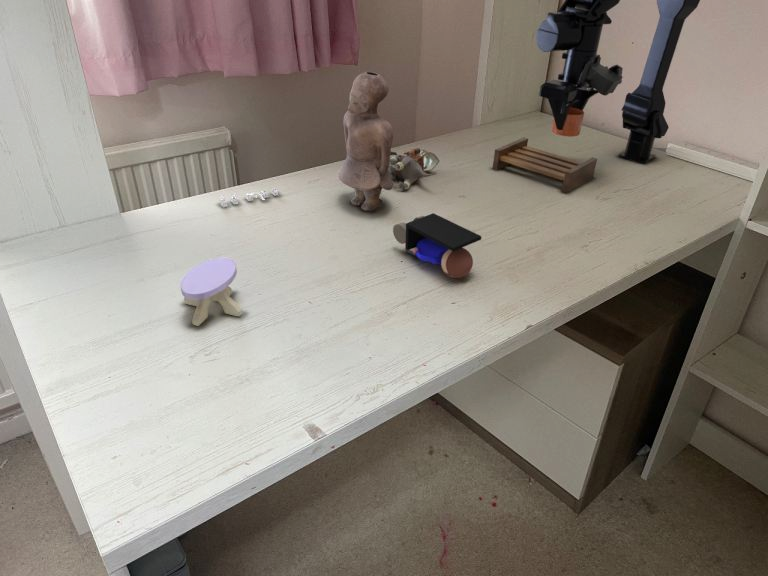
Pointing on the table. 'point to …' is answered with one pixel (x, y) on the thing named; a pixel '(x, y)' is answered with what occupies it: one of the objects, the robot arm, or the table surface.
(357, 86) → the clay figurine
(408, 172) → the figurine
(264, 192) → the figurines set
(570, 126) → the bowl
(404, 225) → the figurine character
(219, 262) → the toy table
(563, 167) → the rack
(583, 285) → the table surface
